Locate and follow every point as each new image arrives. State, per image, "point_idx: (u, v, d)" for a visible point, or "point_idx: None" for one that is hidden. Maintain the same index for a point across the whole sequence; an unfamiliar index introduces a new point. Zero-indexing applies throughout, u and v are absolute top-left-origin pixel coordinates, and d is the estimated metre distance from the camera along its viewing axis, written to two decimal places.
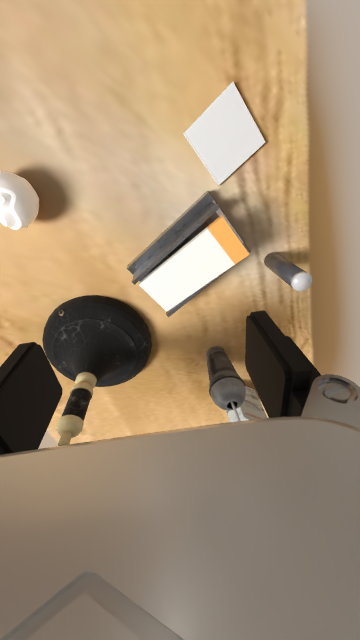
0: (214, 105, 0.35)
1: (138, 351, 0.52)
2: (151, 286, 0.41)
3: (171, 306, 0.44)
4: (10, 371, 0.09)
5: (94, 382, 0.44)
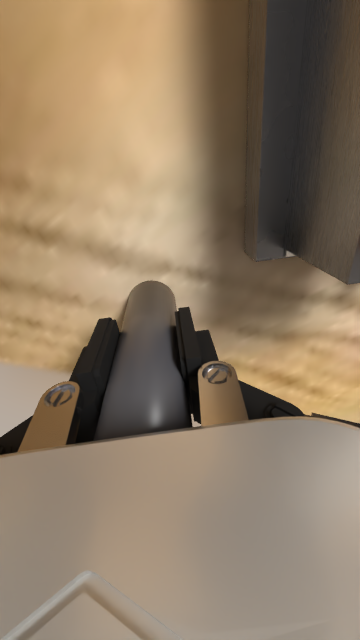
0: None
1: None
2: None
3: None
4: (102, 339, 0.10)
5: None
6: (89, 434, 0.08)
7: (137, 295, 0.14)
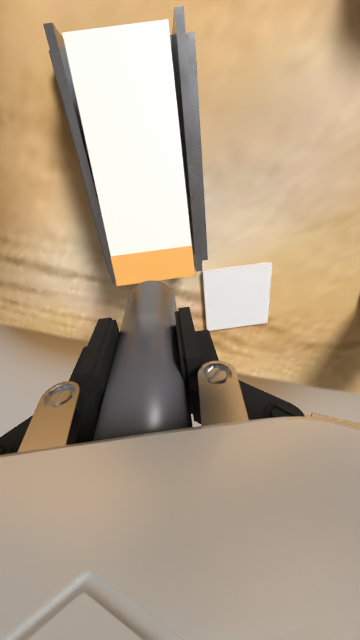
0: (266, 301, 0.35)
1: None
2: (149, 51, 0.17)
3: (73, 60, 0.17)
4: (102, 339, 0.10)
5: None
6: (89, 434, 0.08)
7: (137, 295, 0.14)
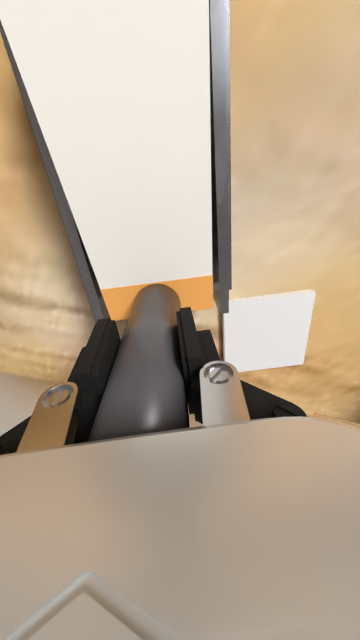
0: (303, 339, 0.27)
1: None
2: None
3: None
4: (101, 339, 0.10)
5: None
6: (87, 434, 0.08)
7: (142, 297, 0.14)
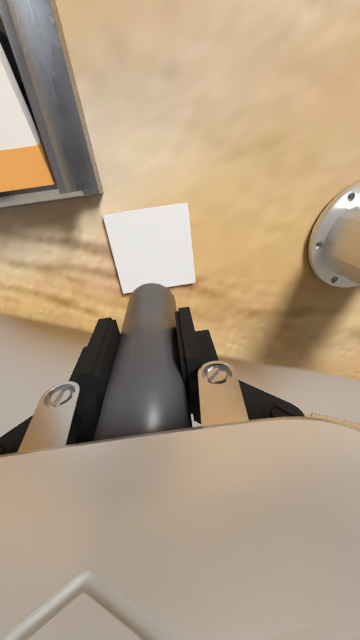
0: (189, 255, 0.29)
1: None
2: None
3: None
4: (102, 339, 0.10)
5: None
6: (89, 434, 0.08)
7: (137, 297, 0.14)
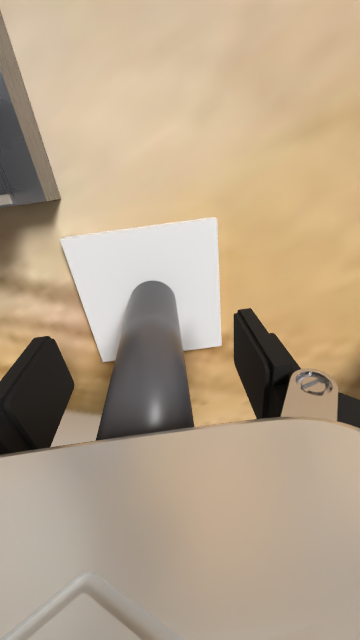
0: (213, 305, 0.17)
1: None
2: None
3: None
4: (27, 363, 0.09)
5: None
6: None
7: (139, 294, 0.14)
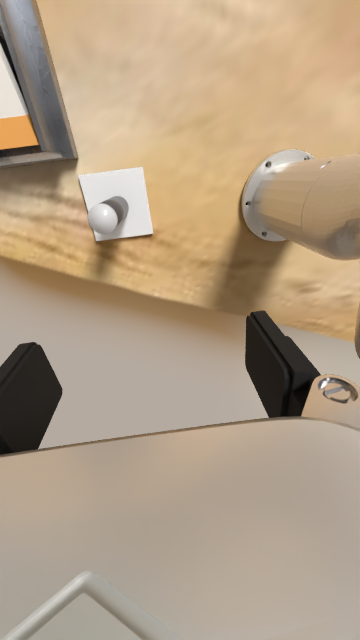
0: (146, 209, 0.37)
1: None
2: None
3: None
4: (10, 371, 0.09)
5: None
6: None
7: None
